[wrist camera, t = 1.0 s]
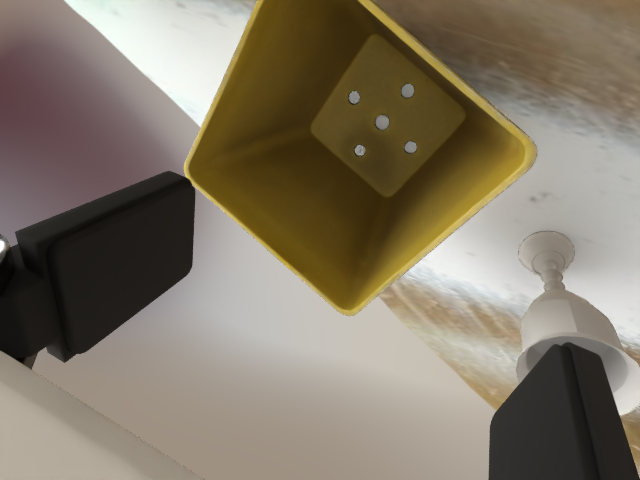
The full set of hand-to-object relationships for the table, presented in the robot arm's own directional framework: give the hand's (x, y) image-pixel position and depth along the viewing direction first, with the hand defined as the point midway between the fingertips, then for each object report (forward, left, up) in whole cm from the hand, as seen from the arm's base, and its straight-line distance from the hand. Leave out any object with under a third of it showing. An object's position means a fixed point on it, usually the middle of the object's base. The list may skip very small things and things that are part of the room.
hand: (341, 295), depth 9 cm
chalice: (+11, +14, -33) cm, 38 cm away
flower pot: (+3, -6, -33) cm, 34 cm away
